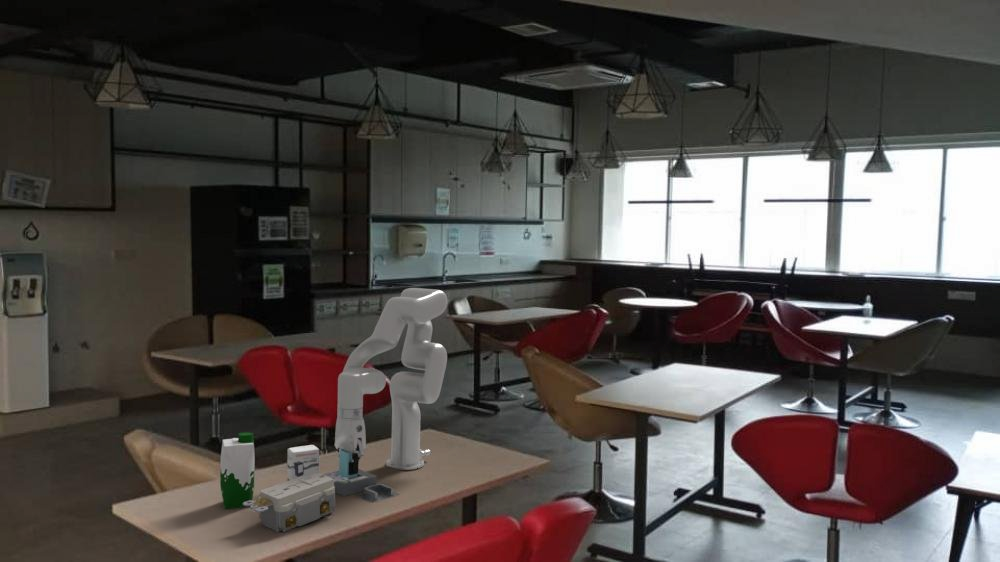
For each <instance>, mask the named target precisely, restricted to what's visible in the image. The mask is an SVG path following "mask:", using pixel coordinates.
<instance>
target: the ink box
mask: <svg viewBox="0 0 1000 562" xmlns="http://www.w3.org/2000/svg"><path fill="white" fill-rule="evenodd" d="M286 459H287V466H286V467H287V468H286V469H287V472H286V475H287V476H286V477H287V478H286V479H287V481H290V480H293V479H296V478H299V477H301V476H304V475H307V474H310V473H313V472H317V473H320V449H319V448H318V447H317V446H315V445H314V444H309V445H301V446H294V447H289V448H287V457H286ZM287 481H286V482H287Z"/></svg>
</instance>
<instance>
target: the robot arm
mask: <svg viewBox="0 0 1000 562" xmlns="http://www.w3.org/2000/svg"><path fill="white" fill-rule="evenodd" d="M448 304H449V303H448V296H447V295H446V293H445V292H444V291H443V290H440V289H436V288H435V289H433V288H423V287H422V288H421V287H409V288H405V289H404V290H402V292H401V294H400V296H394V297H391V298H389V299H388V300H387V301H386V303H385V305H384V307H383V310H382V312H381V314H380V316H379V319H378V320H377V323H376V325H375V327H374V330H373V332H372V334H371V336H370V337H368V338H366V339H365V340H364V341H363V342H361V343H360V344H359V345H358V346H357V347H356V348H355V349H353V351H352V352H351V353H350V355H349V357H348V358H347V360H346V363H345V364H344V367H343V370H342V372H340V374H339V375H338V378H337V409H336V410H337V411H336V412H337V413H336V414H337V418H336V423H335V433H334V435H335V436H334V447H335V448H336V451H337V453H338V456H339V455H340V450H346V451H348V452H349V453H350V462H349V475H354V474H357V473H358V469H359V462H360V461H361V458H362V457H363V456H365V453H366V452H365V451H366V449H367V448H366V444H367V440H366V439H367V437H366V436H367V435H366V434H367V433H366V424H365V420H364V417H363V416H364V415H363V414H364V413H363V410H364V408H363V407H364V395H375V394H378V393H380V392H381V391H383V390H384V388H385V387H386V383H387V378H386V375H385V374H384V372H383V371H381V370H378V369H375V368H368V367H364V365H366V363H367V362H368V361H369V360H370V359H371V358H373V357H375V356H378V355H379V354H382V353H384V352H387V351H390V350H392V349H394V348H395V347H397V345H398V343H399V340H400V339H401V336H402V333H403V331H404V329H405V327H406V325H407V330H406V336H405V339H404V343H403V347H402V351H401V357H400V359H401V360H400V361H401V363H402V365H403V366H404V367H406V368H409V369H414V370H420V371H424V373H419V372H411V371H399V372H396V373H395V374H393V375H392V376H391V379H390V381H389V392H390V398H391V409H392V410H391V411H392V412H391V413H392V414H391V447H390V448H391V449H390V450H391V452H390V454H391V455H390V458H389V459H387V460H386V467H388V468H389V467H390V468H393V469H396V470H399V471H410V470H411V471H412V470H417V468H418V469H420V468H422V467H423V466H424V465H425V461H424V459H423V457H426V456H431V450H430V449H424V450H423V449H421V419H422V418H421V417H422V416H421V410H420V406H419V404H428V405H429V404H433V403H436V401H437V400H438V398H439V397H440V395H441V394H440V393H441V391H442V390H441V389H442V387H443V386H442V385H443V381H444V376H445V372H446V368H447V362H448V353H447V350H446V348H445V346H444V345H443V344H441V343H437V342H431V341H432V335H433V323H432V320H433V319H436V318H437V317H439V316H441V315H442V314H443V313H444V312H446V310H447V307H448ZM418 403H419V404H418ZM354 453H356V454H355V455H354V456H353V454H354Z"/></svg>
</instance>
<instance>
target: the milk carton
mask: <svg viewBox="0 0 1000 562" xmlns="http://www.w3.org/2000/svg"><path fill="white" fill-rule="evenodd" d="M237 435H238V436H237V437H233V438H226V439H222V444H221V450H220V451H221V452H220V467H219V468H220V472H219V473H220V481H219V483H220V491H221V496H222V501H223V505H224V510H231V509H240V508H248V507H249V508H250V506H244V505H243V503H244V502H246V501H249V500H253V498H254V489H255V444H254V443H255V440H254V433H253V432H251V431H243V432H239V433H238V434H237Z"/></svg>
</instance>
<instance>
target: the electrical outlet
mask: <svg viewBox="0 0 1000 562" xmlns="http://www.w3.org/2000/svg"><path fill="white" fill-rule="evenodd" d="M331 472H332V473H331ZM331 472H327V473H324V475H323V474H322V473H320V472H319V473H317V472H313V473H310V474H307V475H304V476H301V477H299V478H296V479H293V480H290V481H284V482H281V483H278V484H275V485H273V486H271V487H270V486H269V487H267V488H264V489H261V490H260V491H259V497H258V500H253V499H252V500H249V501H246V502H244V503H243V505H244V506H250V507H249V508H250V509H253V510H255V512H257V513H259V519H260V522H261V525H262V526H264V527H267V528H269V529H271V530H273V531H275V532H277V533H278V532H283V533H286V532H287V531H289V530H292V529H294V528H296V527H301V526H304V525H307V524H309V523H311V522H314V521H316V520H319V519H320V518H322V517H324V516H327V515H330V514H332V513H333V512H334V511H335V509H336V493H335V487H334V482H337V481H338V482H345V481H348V478H346V477H341V476H340V475H335V473H333V472H334V471H331Z"/></svg>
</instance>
